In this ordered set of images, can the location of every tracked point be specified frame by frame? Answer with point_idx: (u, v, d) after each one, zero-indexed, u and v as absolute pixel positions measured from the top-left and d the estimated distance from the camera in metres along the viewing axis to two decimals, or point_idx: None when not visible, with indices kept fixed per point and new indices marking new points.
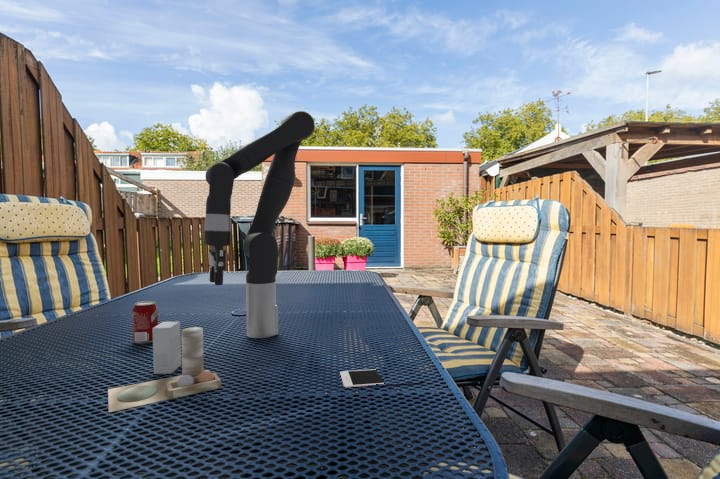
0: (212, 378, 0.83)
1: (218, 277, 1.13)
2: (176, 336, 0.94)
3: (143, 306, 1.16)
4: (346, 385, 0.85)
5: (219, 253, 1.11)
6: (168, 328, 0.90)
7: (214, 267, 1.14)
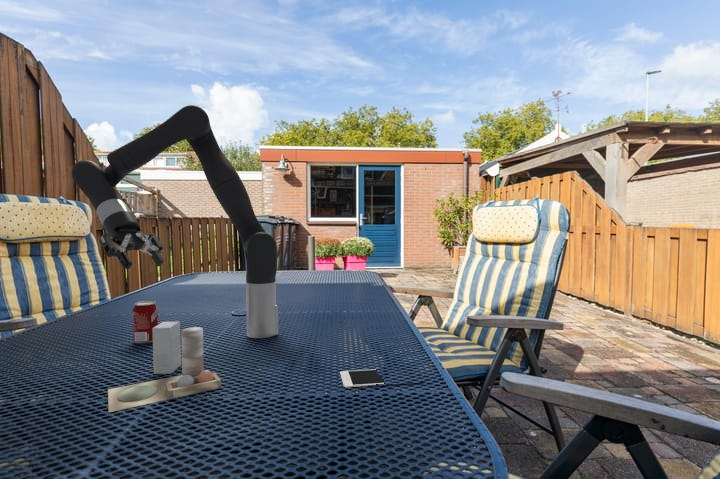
0: (212, 378, 0.83)
1: (120, 260, 0.95)
2: (176, 336, 0.94)
3: (143, 306, 1.16)
4: (346, 385, 0.85)
5: (101, 240, 0.96)
6: (168, 328, 0.90)
7: None
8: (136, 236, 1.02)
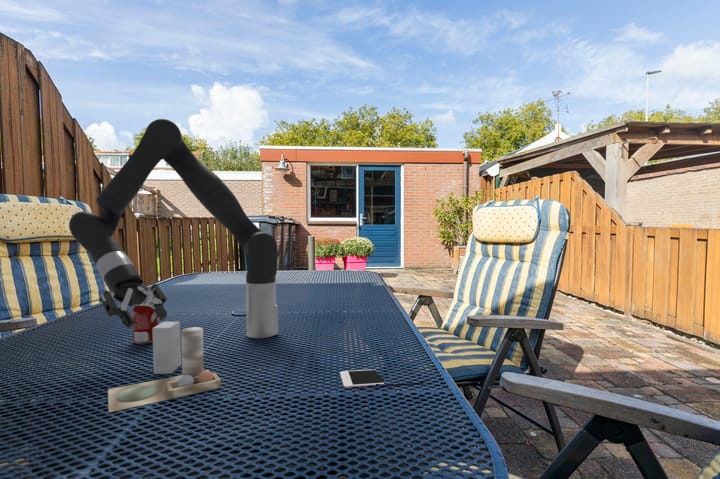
0: (212, 378, 0.83)
1: (122, 319, 0.92)
2: (176, 336, 0.94)
3: (143, 306, 1.16)
4: (346, 385, 0.85)
5: (102, 299, 0.93)
6: (168, 328, 0.90)
7: None
8: (138, 290, 0.99)
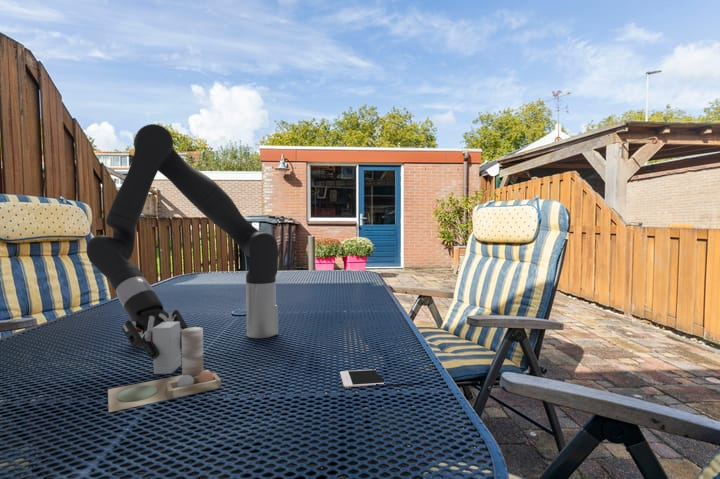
0: (212, 378, 0.83)
1: (147, 350, 0.89)
2: (176, 336, 0.94)
3: None
4: (346, 385, 0.85)
5: (124, 329, 0.89)
6: (168, 328, 0.90)
7: None
8: (159, 317, 0.95)
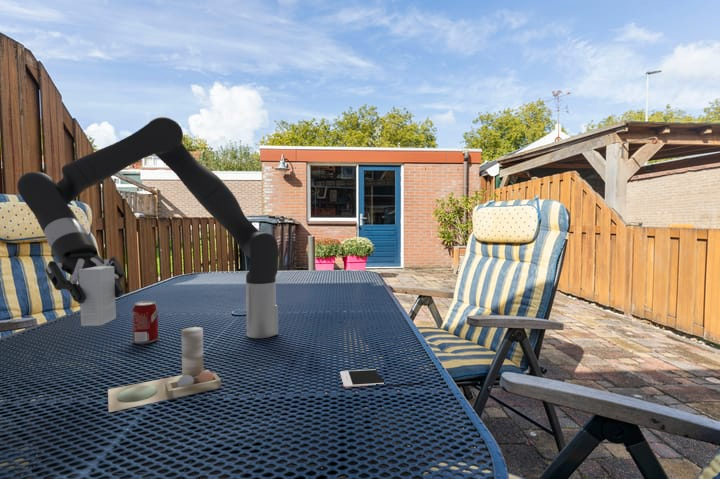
0: (212, 378, 0.83)
1: (72, 294, 0.80)
2: (108, 281, 0.85)
3: (143, 306, 1.16)
4: (346, 385, 0.86)
5: (47, 270, 0.81)
6: (96, 270, 0.81)
7: None
8: (91, 261, 0.87)
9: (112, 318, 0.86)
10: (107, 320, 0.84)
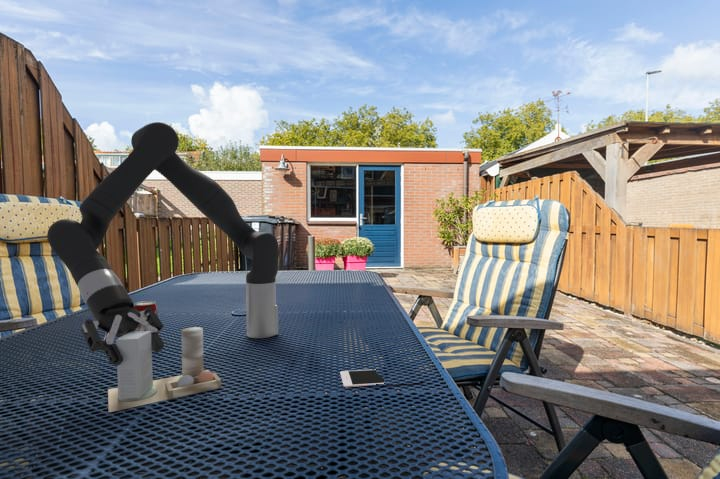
0: (212, 378, 0.83)
1: (108, 355, 0.74)
2: (146, 348, 0.80)
3: (143, 306, 1.16)
4: (346, 385, 0.86)
5: (83, 329, 0.75)
6: (135, 339, 0.76)
7: None
8: (128, 317, 0.81)
9: (149, 387, 0.81)
10: (145, 390, 0.79)
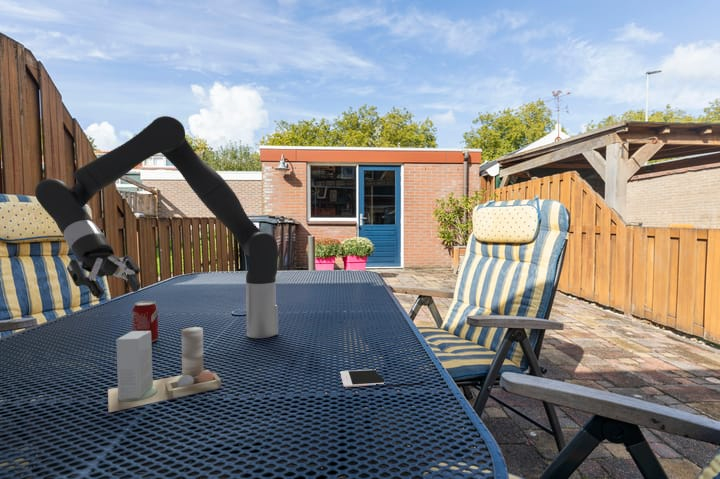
0: (212, 378, 0.83)
1: (90, 289, 0.87)
2: (146, 348, 0.80)
3: (143, 306, 1.16)
4: (346, 385, 0.86)
5: (68, 268, 0.87)
6: (135, 339, 0.76)
7: None
8: (108, 260, 0.93)
9: (149, 387, 0.81)
10: (145, 390, 0.79)
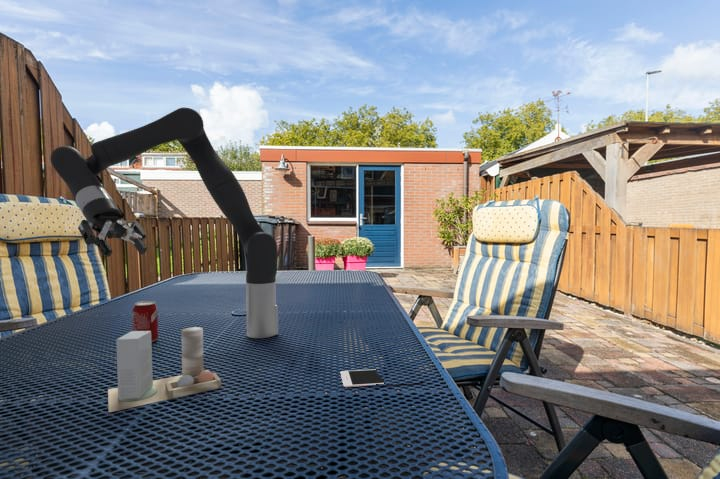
0: (212, 378, 0.83)
1: (100, 248, 0.92)
2: (146, 348, 0.80)
3: (143, 306, 1.16)
4: (346, 385, 0.86)
5: (80, 228, 0.92)
6: (135, 339, 0.76)
7: None
8: (117, 223, 0.98)
9: (149, 387, 0.81)
10: (145, 390, 0.79)
